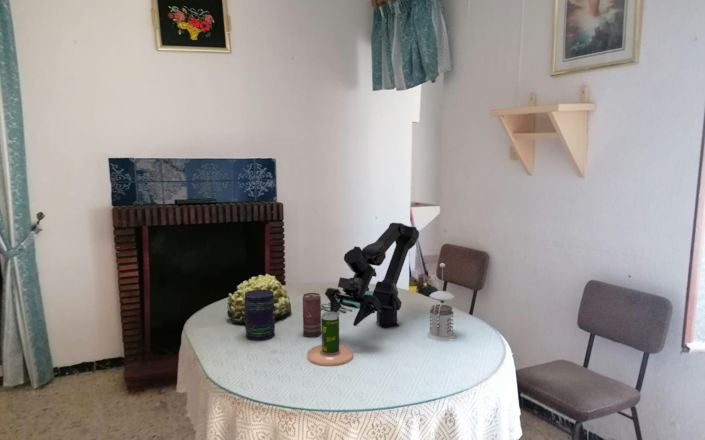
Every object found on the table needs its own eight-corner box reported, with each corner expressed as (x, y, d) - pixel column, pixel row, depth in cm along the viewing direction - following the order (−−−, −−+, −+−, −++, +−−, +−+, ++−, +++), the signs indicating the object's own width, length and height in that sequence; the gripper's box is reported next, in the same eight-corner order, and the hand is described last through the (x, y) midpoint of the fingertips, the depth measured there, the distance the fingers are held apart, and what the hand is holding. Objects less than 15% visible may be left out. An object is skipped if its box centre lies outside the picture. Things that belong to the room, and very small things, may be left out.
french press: (458, 332, 171) (460, 261, 168) (450, 344, 160) (452, 268, 157) (431, 328, 175) (432, 259, 172) (421, 339, 165) (422, 265, 161)
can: (319, 338, 166) (318, 297, 165) (301, 336, 168) (300, 296, 166) (323, 331, 172) (323, 292, 170) (306, 330, 174) (305, 291, 172)
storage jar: (261, 343, 162) (259, 299, 160) (239, 337, 167) (237, 294, 165) (281, 334, 170) (280, 291, 169) (259, 329, 176) (258, 287, 174)
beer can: (334, 347, 155) (334, 310, 153) (342, 353, 150) (342, 315, 149) (319, 350, 153) (318, 312, 151) (326, 356, 148) (325, 317, 146)
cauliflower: (295, 323, 181) (295, 281, 179) (227, 329, 176) (225, 286, 173) (287, 303, 205) (286, 266, 203) (227, 308, 200) (225, 270, 197)
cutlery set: (395, 301, 208) (394, 296, 208) (340, 318, 188) (340, 312, 188) (362, 292, 223) (362, 287, 222) (309, 307, 203) (308, 302, 203)
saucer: (344, 345, 160) (344, 341, 160) (359, 361, 147) (359, 357, 147) (302, 351, 156) (302, 347, 155) (314, 369, 142) (314, 364, 142)
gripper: (327, 263, 163) (306, 304, 155) (376, 270, 152) (356, 315, 145) (341, 281, 170) (322, 321, 163) (389, 289, 160) (371, 333, 152)
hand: (342, 322), depth 155 cm, fingers open, 9 cm apart
